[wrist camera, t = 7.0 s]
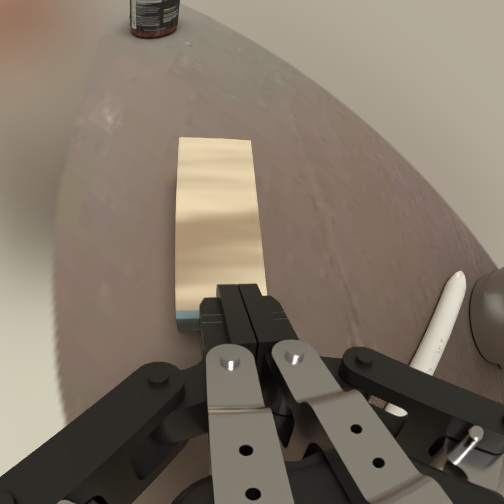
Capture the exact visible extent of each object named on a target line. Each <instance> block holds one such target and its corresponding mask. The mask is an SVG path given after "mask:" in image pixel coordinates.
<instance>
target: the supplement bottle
mask: <svg viewBox="0 0 504 504" xmlns="http://www.w3.org/2000/svg"><path fill="white" fill-rule="evenodd" d="M179 3H180V0H130V17H129V18H130V26H131V32H132V33H133V34H135V35H136V36H140V37H146V38H155V37H159V36H164V35H167V34H169V33H171V32H173V31H174V30H175V29H176V27H177V25H178V14H179Z"/></svg>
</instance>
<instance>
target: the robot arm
mask: <svg viewBox="0 0 504 504" xmlns="http://www.w3.org/2000/svg"><path fill="white" fill-rule="evenodd" d="M470 316H471V326H472V332H473V335H474V339H475V342H476V344H477V347H478V349H479V351H480V352H481V354H482V355H483V357H484V358H485V359H486V360H487V361H489V362H491V363H495V364H499V365H500V366H501V368H502V370H503V369H504V267H503V268H501V269H499V270H496V271H494V272H492V273H490V274H488V275H486V276H484V277H482V278H481V279H480V280H479V281H478V282H477V283H476V285H475V287H474V290H473V292H472V297H471V305H470ZM199 338H200V346H201V354H202V360H201V362H199V363H198V364H197V365H195V366H193V367H191V368H188V369H185V370H181V371H180V369H178V368H177V367H176V366H174V365H172V364H169V363H165V362H152V363H148V364H145V365H143V366H141V367H140V368H139V369H137V370H136V371H135V372H134V373H132V374H131V375H130V376H129V377H127V378H126V379H125V380H124V381H122V382H121V383H120V384H119V385H118V386H116V387H115V388H114V389H113V390H111V391H110V392H109V393H108V394H106V395H105V396H104V397H103V398H101V399H100V400H99V401H97V402H96V403H95V404H94V405H92V406H91V407H90V408H89V409H87V410H86V411H85V412H84V413H82V414H81V415H80V416H79V417H77V418H76V419H75V420H73V421H72V422H71V423H70V424H68V425H67V426H66V427H65V428H63V429H62V430H61V431H59V432H58V433H57V434H56V435H54V436H53V437H52V438H50V439H49V440H48V441H47V442H45V443H44V444H43V445H41V446H40V447H39V448H38V449H36V450H35V451H34V452H32V453H31V454H30V455H28V457H26V458H25V459H23V460H22V461H21V462H19V463H18V464H17V465H16V466H14V467H13V468H11V469H10V470H9V471H8V472H6V473H5V474H3V475H2V476H1V477H0V504H132V503H133V502H134V501H135V500H136V499H137V498H138V496H139V495H140V494H141V493H142V492H143V491H144V490H145V489H146V488H147V487H148V486H149V485H150V484H151V483H152V482H153V481H154V480H155V479H156V477H157V476H158V475H159V474H160V473H161V472H162V471H163V470H164V469H165V468H166V467H167V465H168V464H169V463H170V462H171V461H172V460H173V459H174V458H175V457H176V455H177V454H178V453H179V452H180V451H181V450H182V449H183V447H184V446H185V445H186V444H187V442H188V440H189V438H192V437H195V436H198V435H201V434H204V433H207V432H208V450H209V466H210V476H207V477H205V478H203V479H200V480H198V481H197V482H195V483H193V484H192V485H190V486H189V487H187V488H186V489H185V490H183V491H182V492H181V493H180V494H179V495H178V496H177V497H176V498H175V500H174V501H173V502H172V503H171V504H504V497H503V496H502V495H501V494H499V493H497V488H498V483H499V479H500V474H501V468H502V462H503V456H504V405H503V404H500V403H498V402H495V401H493V400H490V399H488V398H485V397H483V396H480V395H478V394H475V393H473V392H470V391H468V390H465V389H463V388H460V387H458V386H455V385H453V384H451V383H448V382H446V381H443V380H441V379H439V378H436V377H434V376H431V375H429V374H427V373H424V372H422V371H420V370H417V369H415V368H413V367H410V366H408V365H406V364H403V363H401V362H399V361H397V360H394V359H392V358H390V357H388V356H385V355H383V354H381V353H379V352H376V351H374V350H372V349H369V348H366V347H352V348H349V349H348V350H346V351H345V353H344V355H343V358H342V359H341V358H330V357H322V356H319V355H318V354H317V352H316V351H315V349H314V348H313V347H312V346H310V345H309V344H307V343H305V342H302V341H299V339H298V337H297V335H296V333H295V331H294V329H293V327H292V325H291V324H290V322H289V320H288V319H287V316H286V314H285V312H284V310H283V308H282V306H281V305H280V303H279V302H278V301H277V300H276V299H274V298H273V297H272V296H262V294H261V291H260V289H259V287H258V285H257V284H256V283H251V284H217V287H216V297H205V298H203V300H202V302H201V303H200V305H199ZM371 395H373V396H375V397H378V398H380V399H382V400H384V401H386V402H388V403H390V404H393V405H395V406H397V407H399V408H401V409H403V410H405V411H406V412H407V414H406V415H405V416H396V415H394V414H391V413H389V412H387V411H385V410H383V409H381V408H379V407H376V406H374V405H372V404H370V403H368V401H369V399H370V397H371Z"/></svg>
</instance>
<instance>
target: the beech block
mask: <svg viewBox="0 0 504 504" xmlns="http://www.w3.org/2000/svg"><path fill="white" fill-rule="evenodd" d="M251 283H256V284H257V285H258V287H259V289H260V291H261V294H262V296H267V290H266V280H265V271H264V261H263V251H262V241H261V232H260V222H259V213H258V204H257V194H256V185H255V176H254V167H253V158H252V149H251V141H249V140H234V139H214V138H180V139H179V154H178V172H177V194H176V229H175V295H176V321H177V328H178V331H199V305H200V303H201V302H202V300H203V298H205V297H216V287H217V284H251Z"/></svg>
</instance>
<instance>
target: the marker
mask: <svg viewBox="0 0 504 504" xmlns="http://www.w3.org/2000/svg"><path fill="white" fill-rule="evenodd" d="M444 290H445V291H444ZM444 290H443V293H442V295H441V298H440V300H439V303H438V305H437V308H436V310H435V312H434V315H433V317H432V319H431V322H430V324H429V326H428V328H427V331H426V333H425V335H424V337H423V339H422V341H421V343H420V346H419V348H418V350H417V352H416V354H415V356H414V358H413V360H412V362H411V364H410V365H409V366H410V367H413V368H415V369H417V370H420V371H422V372H424V373H427V374H429V375H431V376H432V375H433V373H434V371H435V369H436V367H437V364H438V362H439V360H440V358H441V355H442V353H443V351H444V348H445V346H446V344H447V341H448V339H449V337H450V334H451V332H452V329H453V326H454V324H455V321H456V318H457V315H458V313H459V310H460V307H461V304H462V301H463V298H464V295H465V291H466V279H465V275H464V273H463V272H462V271H458V272H456V273H455V274H454V275H453V276H452V277H451V278H450V279H449V280H448V282H447V283H446V285H445V288H444ZM385 411H387V412H389V413H391V414H394V415H396V416H405V415H406V414H407V412H406V411H405V410H403V409H401V408H399V407H397V406H395V405H393V404H390V403H388V405H387V406H386V408H385Z"/></svg>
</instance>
